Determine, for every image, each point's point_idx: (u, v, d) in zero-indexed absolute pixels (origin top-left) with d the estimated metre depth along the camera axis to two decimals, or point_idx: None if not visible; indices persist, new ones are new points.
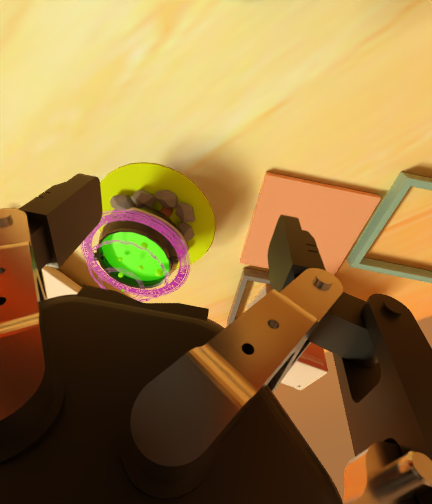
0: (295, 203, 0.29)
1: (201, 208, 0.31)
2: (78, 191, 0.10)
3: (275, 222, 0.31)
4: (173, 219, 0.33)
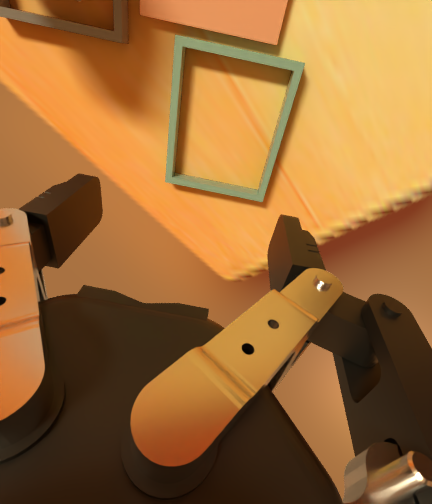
0: None
1: None
2: (78, 191, 0.10)
3: None
4: None
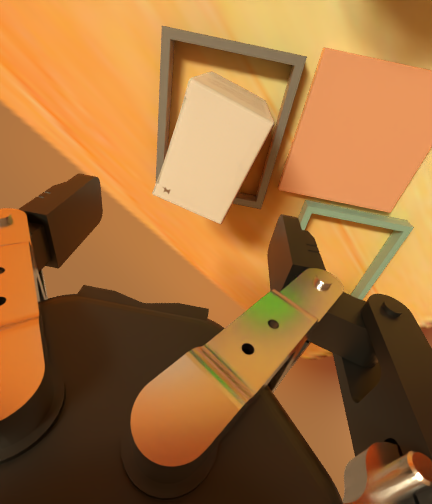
0: (414, 125, 0.24)
1: None
2: (78, 191, 0.10)
3: (392, 102, 0.23)
4: None
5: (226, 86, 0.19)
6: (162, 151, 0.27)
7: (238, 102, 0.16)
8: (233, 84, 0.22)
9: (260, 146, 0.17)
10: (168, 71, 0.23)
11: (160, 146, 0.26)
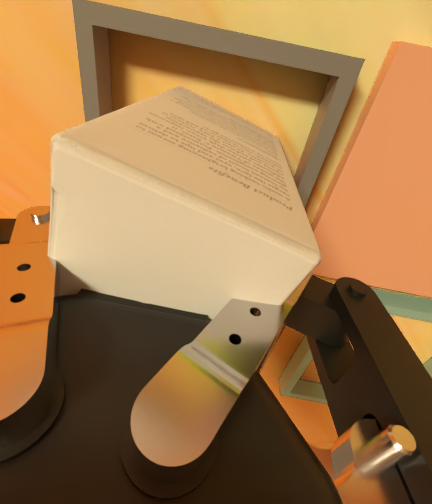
0: None
1: None
2: None
3: None
4: None
5: (197, 127, 0.08)
6: None
7: (216, 201, 0.05)
8: (218, 112, 0.12)
9: (279, 304, 0.06)
10: (97, 87, 0.12)
11: None
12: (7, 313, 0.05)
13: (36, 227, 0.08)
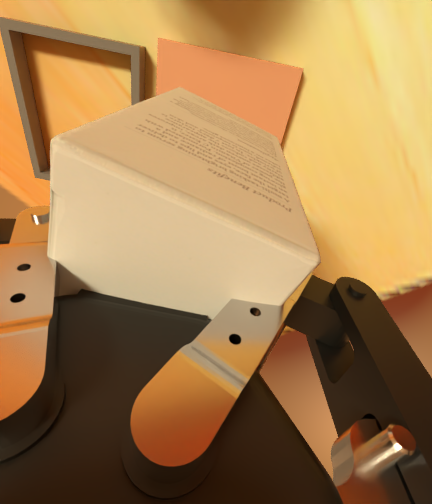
0: (261, 114, 0.24)
1: None
2: None
3: (234, 91, 0.24)
4: None
5: (196, 128, 0.08)
6: (31, 141, 0.27)
7: (214, 203, 0.05)
8: (218, 113, 0.12)
9: None
10: (16, 61, 0.23)
11: (28, 136, 0.27)
12: (7, 314, 0.05)
13: (36, 227, 0.08)
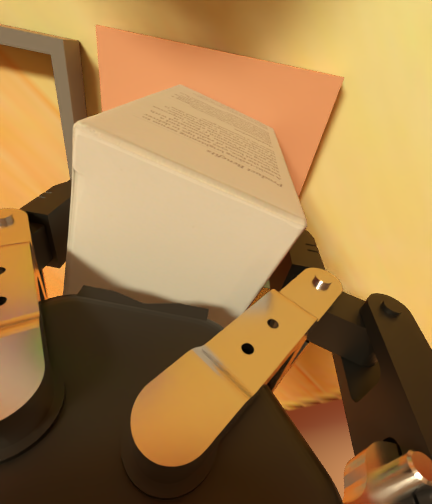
0: None
1: None
2: None
3: None
4: None
5: (196, 119, 0.09)
6: None
7: (213, 176, 0.06)
8: (216, 106, 0.12)
9: (272, 269, 0.07)
10: None
11: None
12: None
13: None
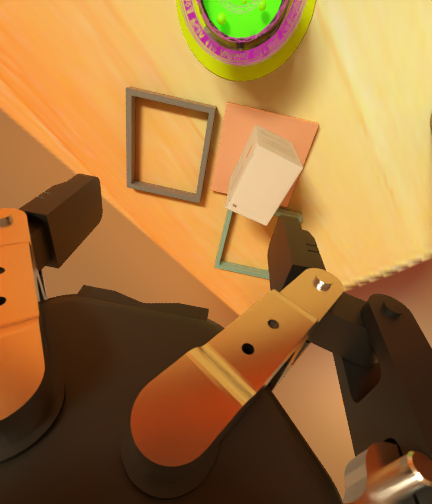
0: None
1: (260, 66, 0.32)
2: (78, 191, 0.10)
3: None
4: None
5: (271, 141, 0.31)
6: (130, 163, 0.40)
7: (283, 156, 0.28)
8: (271, 134, 0.34)
9: (294, 180, 0.29)
10: (131, 113, 0.36)
11: (128, 159, 0.39)
12: None
13: None
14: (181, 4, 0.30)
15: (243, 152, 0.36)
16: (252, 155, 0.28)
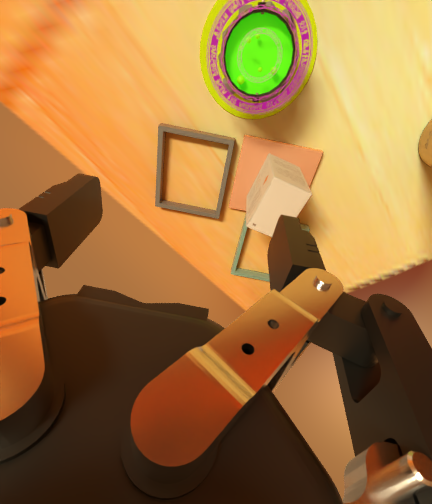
0: None
1: (269, 108, 0.38)
2: (78, 191, 0.10)
3: None
4: None
5: (284, 170, 0.37)
6: (159, 185, 0.46)
7: (295, 185, 0.34)
8: (283, 162, 0.40)
9: None
10: (162, 145, 0.42)
11: (158, 183, 0.45)
12: None
13: None
14: (204, 60, 0.36)
15: (258, 176, 0.42)
16: (270, 184, 0.34)
